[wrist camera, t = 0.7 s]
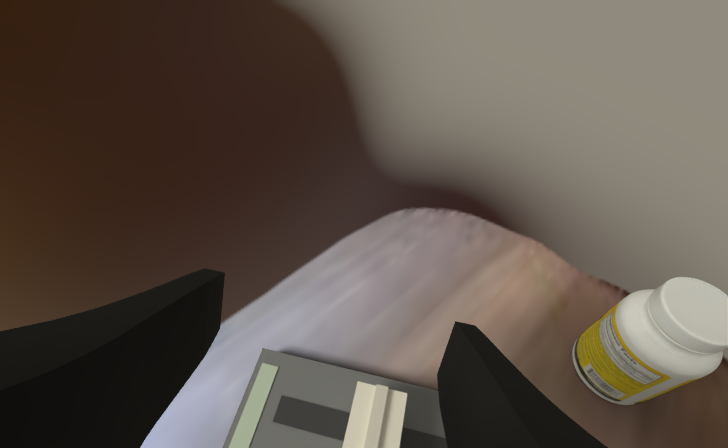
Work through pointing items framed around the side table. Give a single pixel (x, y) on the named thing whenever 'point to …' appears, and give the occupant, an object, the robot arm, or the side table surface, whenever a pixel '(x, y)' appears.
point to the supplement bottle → (654, 341)
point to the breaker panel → (320, 406)
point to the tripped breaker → (375, 417)
